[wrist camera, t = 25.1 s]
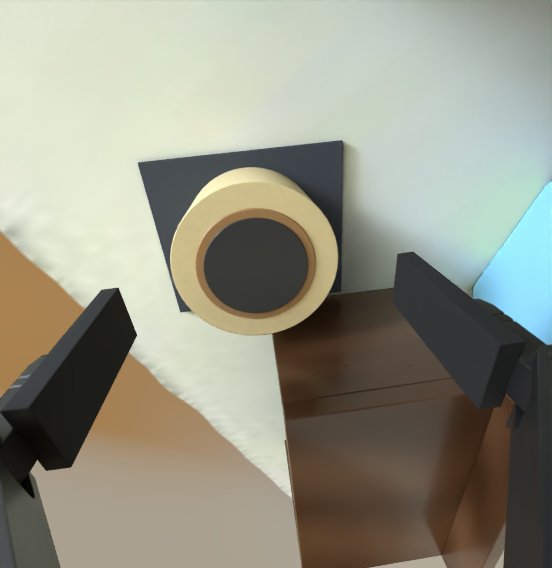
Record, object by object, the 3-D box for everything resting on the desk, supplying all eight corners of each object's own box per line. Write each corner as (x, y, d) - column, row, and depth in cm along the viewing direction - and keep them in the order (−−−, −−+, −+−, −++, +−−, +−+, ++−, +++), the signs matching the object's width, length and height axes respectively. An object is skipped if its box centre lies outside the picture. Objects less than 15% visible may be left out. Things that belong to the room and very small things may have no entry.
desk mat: (138, 162, 21) (137, 162, 20) (341, 140, 21) (342, 140, 21) (181, 310, 26) (180, 312, 26) (340, 289, 27) (341, 291, 27)
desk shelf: (267, 304, 27) (292, 478, 14) (411, 285, 27) (568, 434, 14) (285, 446, 36) (310, 631, 23) (391, 430, 37) (475, 601, 24)
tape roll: (201, 299, 26) (190, 346, 20) (171, 175, 21) (147, 193, 16) (318, 284, 26) (339, 326, 21) (314, 159, 21) (339, 171, 16)
